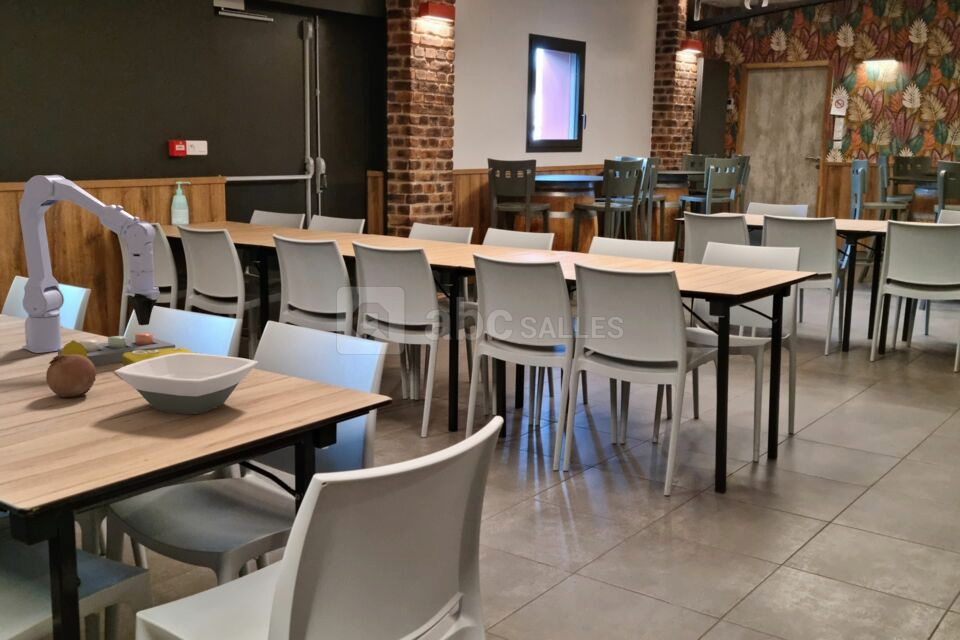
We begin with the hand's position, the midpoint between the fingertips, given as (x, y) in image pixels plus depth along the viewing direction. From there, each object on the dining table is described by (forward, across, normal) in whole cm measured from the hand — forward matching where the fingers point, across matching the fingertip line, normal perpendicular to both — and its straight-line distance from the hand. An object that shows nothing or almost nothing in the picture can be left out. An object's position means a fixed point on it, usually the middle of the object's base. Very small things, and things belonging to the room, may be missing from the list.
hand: (143, 324), depth 240 cm
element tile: (+8, -22, +6) cm, 24 cm away
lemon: (+8, -13, +23) cm, 27 cm away
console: (+7, 0, +7) cm, 10 cm away
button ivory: (+5, 0, +14) cm, 15 cm away
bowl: (+8, -54, +17) cm, 57 cm away
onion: (+8, -31, +31) cm, 44 cm away
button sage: (+5, 0, +7) cm, 9 cm away
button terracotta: (+5, 0, 0) cm, 5 cm away
